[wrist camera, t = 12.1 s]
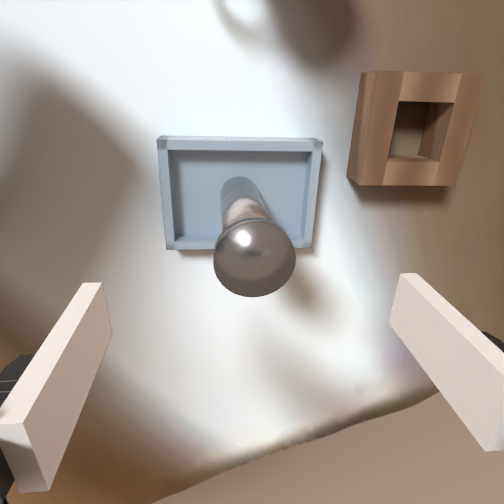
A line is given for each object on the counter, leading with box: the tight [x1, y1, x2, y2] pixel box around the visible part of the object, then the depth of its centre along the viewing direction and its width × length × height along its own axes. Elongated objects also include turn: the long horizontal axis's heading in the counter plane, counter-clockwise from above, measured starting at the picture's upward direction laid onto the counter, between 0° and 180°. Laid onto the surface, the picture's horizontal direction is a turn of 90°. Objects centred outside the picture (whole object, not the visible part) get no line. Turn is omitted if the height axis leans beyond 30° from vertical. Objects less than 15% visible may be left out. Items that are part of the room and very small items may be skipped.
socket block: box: [346, 71, 486, 186], centre depth 30 cm, size 9×9×4 cm
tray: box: [157, 136, 323, 250], centre depth 32 cm, size 14×10×2 cm
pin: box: [214, 176, 296, 297], centre depth 26 cm, size 5×5×14 cm
